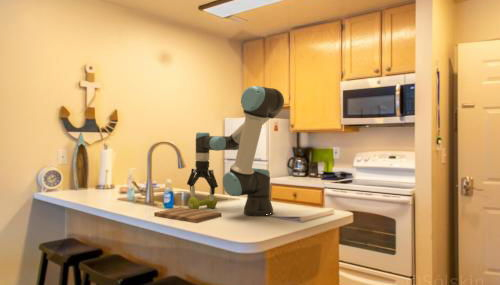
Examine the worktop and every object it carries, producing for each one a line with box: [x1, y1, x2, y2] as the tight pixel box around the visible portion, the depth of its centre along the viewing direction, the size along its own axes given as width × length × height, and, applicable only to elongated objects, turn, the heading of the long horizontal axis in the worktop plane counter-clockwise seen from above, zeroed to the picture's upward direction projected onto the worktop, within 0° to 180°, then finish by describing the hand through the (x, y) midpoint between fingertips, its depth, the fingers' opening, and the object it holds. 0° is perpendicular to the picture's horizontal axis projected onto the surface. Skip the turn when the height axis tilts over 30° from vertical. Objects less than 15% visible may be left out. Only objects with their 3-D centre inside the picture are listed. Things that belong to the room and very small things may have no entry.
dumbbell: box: [187, 194, 218, 210], centre depth 202 cm, size 16×8×7 cm, turn 137°
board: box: [153, 206, 222, 224], centre depth 183 cm, size 28×18×2 cm, turn 56°
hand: (201, 199), depth 203 cm, fingers open, 13 cm apart
